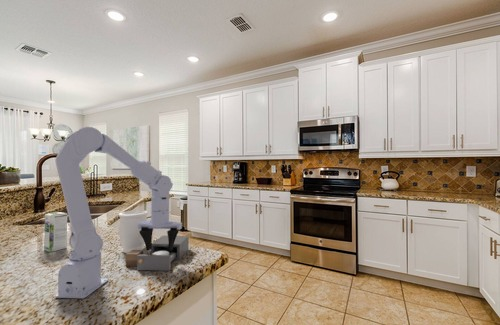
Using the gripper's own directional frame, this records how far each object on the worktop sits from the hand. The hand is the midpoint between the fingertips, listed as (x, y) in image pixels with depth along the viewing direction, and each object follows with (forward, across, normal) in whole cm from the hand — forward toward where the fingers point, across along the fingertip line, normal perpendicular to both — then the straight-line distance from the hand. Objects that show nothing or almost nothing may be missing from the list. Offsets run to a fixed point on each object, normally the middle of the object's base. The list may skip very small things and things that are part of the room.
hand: (159, 249), depth 80 cm
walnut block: (+5, +9, 0) cm, 10 cm away
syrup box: (+5, +49, -12) cm, 51 cm away
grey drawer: (+5, 0, 0) cm, 5 cm away
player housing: (+5, 0, -9) cm, 10 cm away
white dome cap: (+3, 0, 0) cm, 3 cm away
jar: (+5, +17, -13) cm, 22 cm away
